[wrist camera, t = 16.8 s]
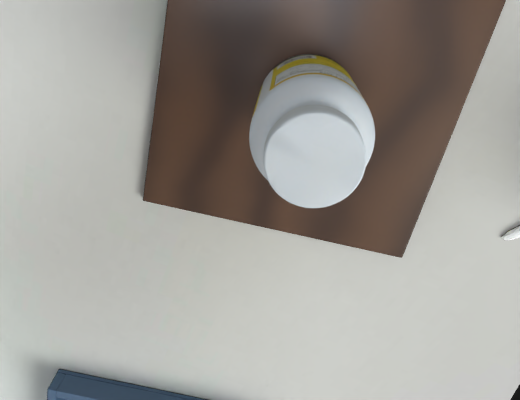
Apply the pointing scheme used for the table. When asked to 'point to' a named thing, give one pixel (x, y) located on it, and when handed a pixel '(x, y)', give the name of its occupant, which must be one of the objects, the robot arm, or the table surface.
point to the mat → (363, 75)
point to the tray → (103, 389)
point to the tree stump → (512, 234)
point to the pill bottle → (311, 131)
